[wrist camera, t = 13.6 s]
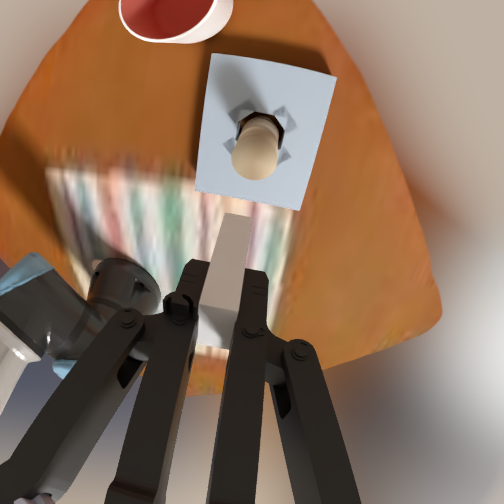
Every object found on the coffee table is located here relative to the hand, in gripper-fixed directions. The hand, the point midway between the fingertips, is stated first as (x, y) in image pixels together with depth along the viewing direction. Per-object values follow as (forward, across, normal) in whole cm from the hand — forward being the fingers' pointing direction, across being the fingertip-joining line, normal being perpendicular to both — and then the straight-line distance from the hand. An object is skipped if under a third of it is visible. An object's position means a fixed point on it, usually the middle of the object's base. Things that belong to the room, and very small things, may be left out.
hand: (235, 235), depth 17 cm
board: (+24, 0, 0) cm, 24 cm away
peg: (+24, 0, 0) cm, 24 cm away
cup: (+24, -11, +15) cm, 31 cm away
